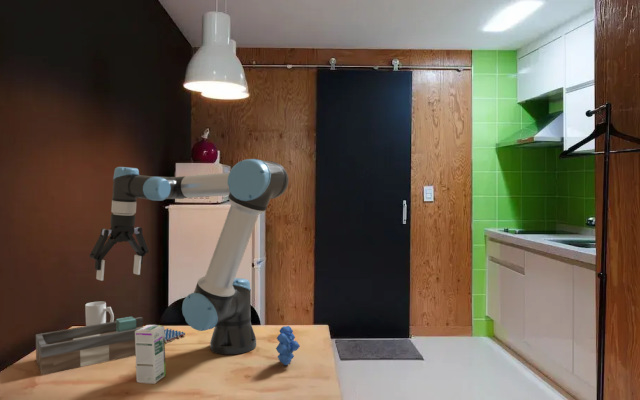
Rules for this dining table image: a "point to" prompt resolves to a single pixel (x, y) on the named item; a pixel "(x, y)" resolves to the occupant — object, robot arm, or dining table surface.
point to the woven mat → (172, 335)
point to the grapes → (286, 345)
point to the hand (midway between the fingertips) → (118, 276)
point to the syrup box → (150, 354)
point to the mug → (97, 313)
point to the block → (125, 324)
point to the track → (84, 346)
